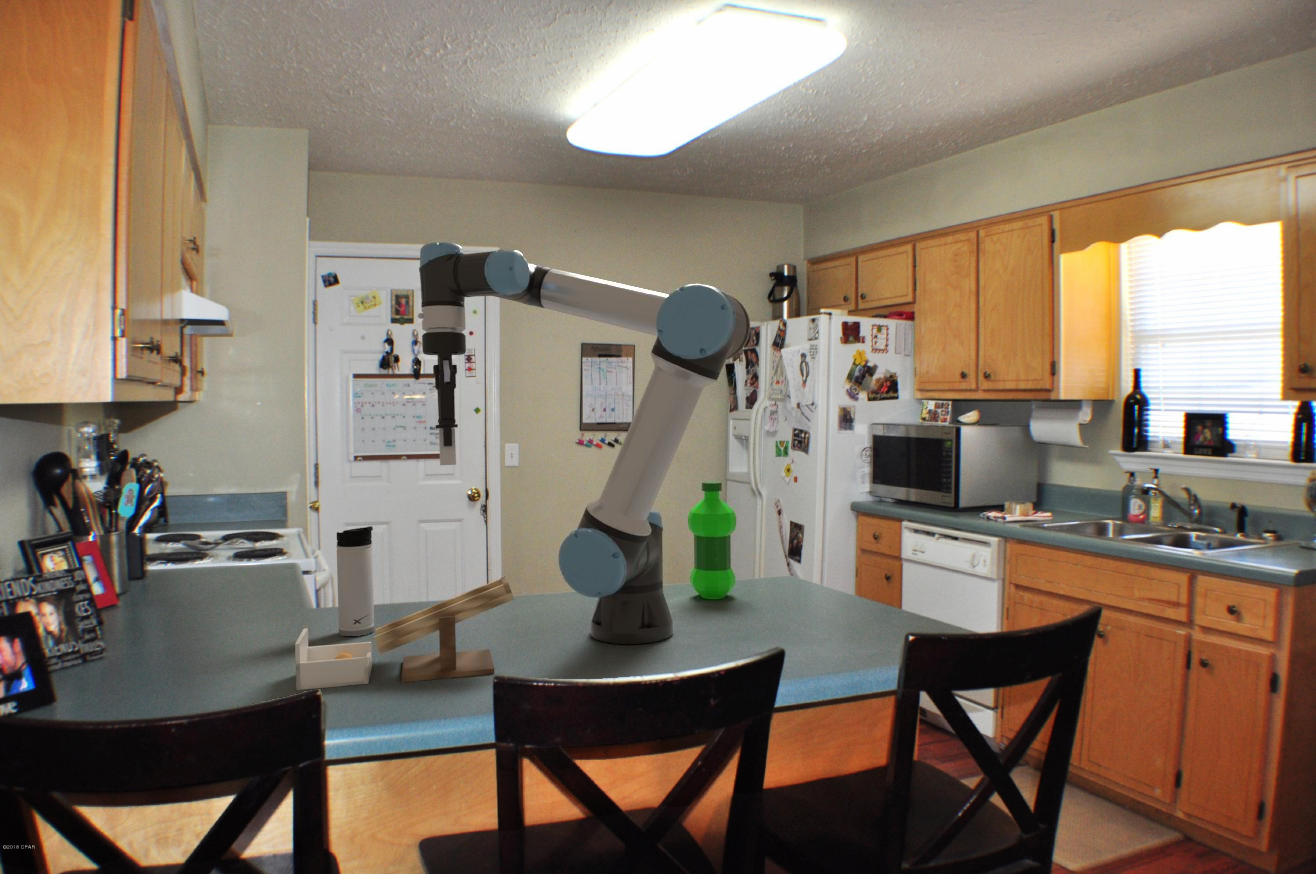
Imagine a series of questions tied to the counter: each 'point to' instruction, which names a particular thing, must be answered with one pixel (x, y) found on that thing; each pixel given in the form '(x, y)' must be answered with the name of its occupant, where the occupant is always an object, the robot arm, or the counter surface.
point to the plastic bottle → (712, 544)
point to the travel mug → (355, 582)
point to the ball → (343, 656)
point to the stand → (447, 659)
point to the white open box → (331, 664)
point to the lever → (429, 617)
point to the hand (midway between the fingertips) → (448, 464)
